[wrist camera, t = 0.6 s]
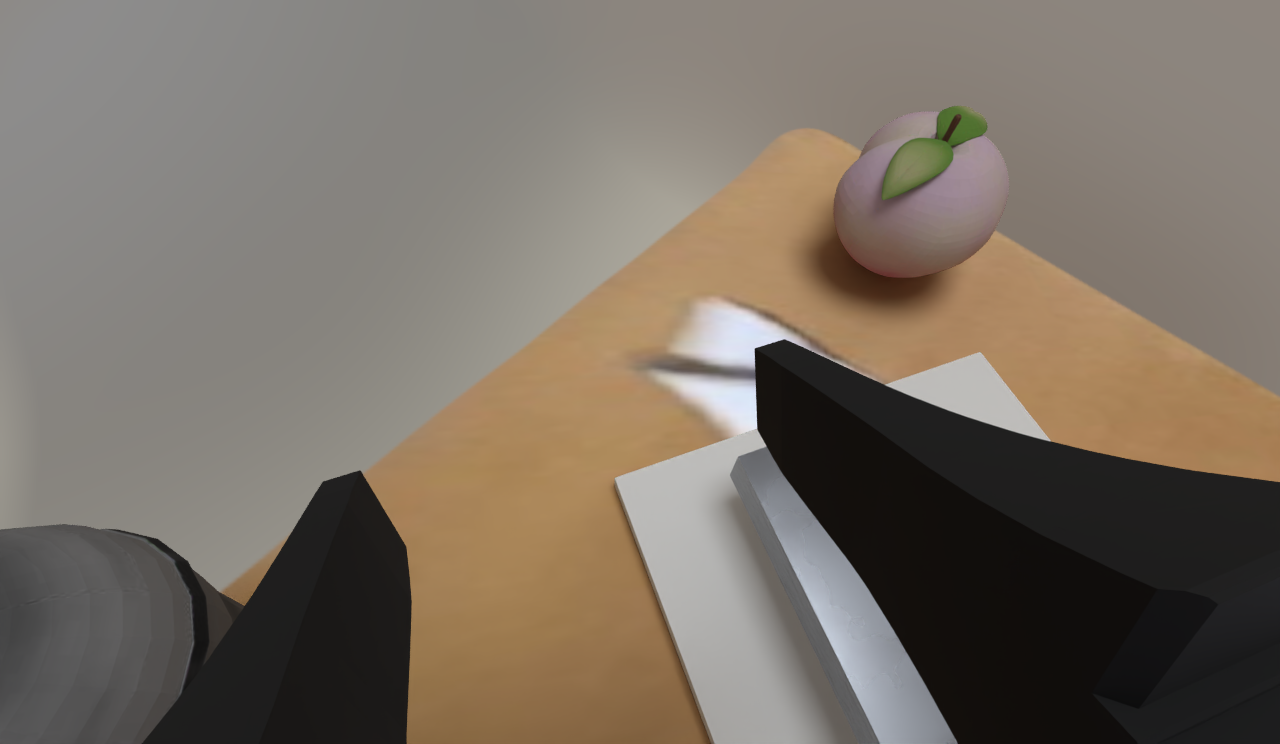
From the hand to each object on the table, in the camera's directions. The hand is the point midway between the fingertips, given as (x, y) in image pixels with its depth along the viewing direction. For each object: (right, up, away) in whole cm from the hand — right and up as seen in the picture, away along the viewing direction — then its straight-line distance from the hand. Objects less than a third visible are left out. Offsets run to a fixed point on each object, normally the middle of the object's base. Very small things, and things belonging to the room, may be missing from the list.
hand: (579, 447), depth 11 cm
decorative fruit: (+16, +8, +26) cm, 32 cm away
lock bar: (+9, -9, +11) cm, 17 cm away
